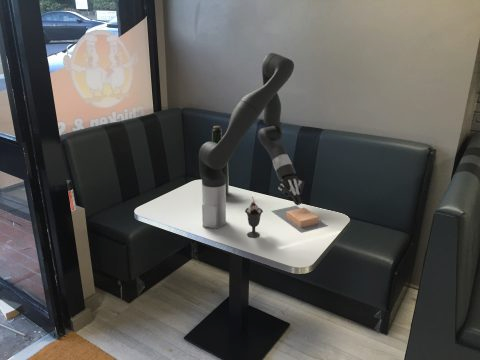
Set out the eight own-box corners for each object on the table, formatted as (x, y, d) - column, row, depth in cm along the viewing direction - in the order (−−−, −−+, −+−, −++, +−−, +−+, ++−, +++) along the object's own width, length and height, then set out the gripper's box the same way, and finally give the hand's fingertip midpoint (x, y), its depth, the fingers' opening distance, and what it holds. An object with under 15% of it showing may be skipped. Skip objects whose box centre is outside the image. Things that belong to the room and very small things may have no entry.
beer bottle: (203, 192, 191) (201, 125, 180) (222, 188, 196) (222, 122, 184) (211, 200, 182) (210, 129, 171) (232, 196, 187) (232, 127, 175)
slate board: (327, 227, 158) (328, 225, 157) (301, 234, 152) (301, 232, 152) (296, 207, 176) (296, 205, 176) (271, 212, 170) (271, 211, 170)
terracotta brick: (286, 211, 163) (300, 221, 154) (304, 207, 167) (319, 216, 158) (285, 217, 164) (300, 227, 155) (303, 213, 168) (318, 223, 159)
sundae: (251, 229, 156) (252, 193, 151) (265, 234, 152) (266, 198, 147) (241, 235, 151) (241, 199, 146) (255, 240, 147) (256, 203, 142)
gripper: (292, 169, 174) (307, 204, 168) (267, 173, 169) (281, 210, 163) (300, 161, 168) (316, 197, 162) (274, 165, 162) (289, 203, 156)
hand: (299, 204), depth 162 cm, fingers closed
